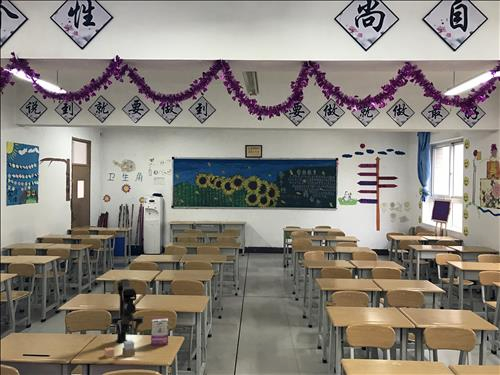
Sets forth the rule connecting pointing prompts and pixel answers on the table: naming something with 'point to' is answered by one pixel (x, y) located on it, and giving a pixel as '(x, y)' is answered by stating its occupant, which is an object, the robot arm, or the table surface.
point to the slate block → (128, 345)
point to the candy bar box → (159, 332)
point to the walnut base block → (128, 352)
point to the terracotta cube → (109, 352)
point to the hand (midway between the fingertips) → (127, 333)
